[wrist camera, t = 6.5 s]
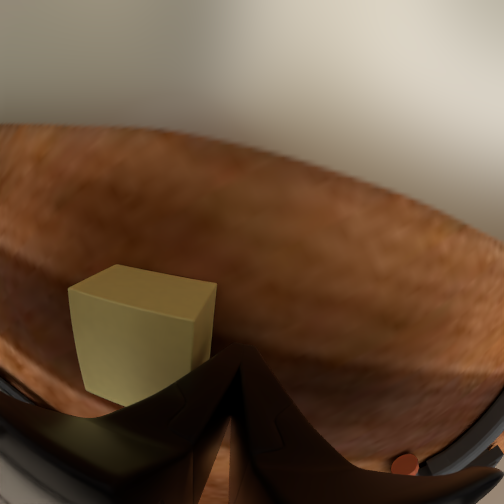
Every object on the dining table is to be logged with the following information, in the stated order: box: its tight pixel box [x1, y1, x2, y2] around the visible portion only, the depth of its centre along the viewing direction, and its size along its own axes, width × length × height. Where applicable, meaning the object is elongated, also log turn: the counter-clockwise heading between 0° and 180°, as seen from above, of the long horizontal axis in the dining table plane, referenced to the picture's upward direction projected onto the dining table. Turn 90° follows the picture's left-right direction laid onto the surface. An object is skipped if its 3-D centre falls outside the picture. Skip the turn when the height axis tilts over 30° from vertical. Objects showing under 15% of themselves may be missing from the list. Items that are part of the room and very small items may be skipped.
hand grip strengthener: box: [391, 391, 504, 476], centre depth 10 cm, size 2×13×15 cm
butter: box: [68, 264, 217, 407], centre depth 8 cm, size 4×4×3 cm
